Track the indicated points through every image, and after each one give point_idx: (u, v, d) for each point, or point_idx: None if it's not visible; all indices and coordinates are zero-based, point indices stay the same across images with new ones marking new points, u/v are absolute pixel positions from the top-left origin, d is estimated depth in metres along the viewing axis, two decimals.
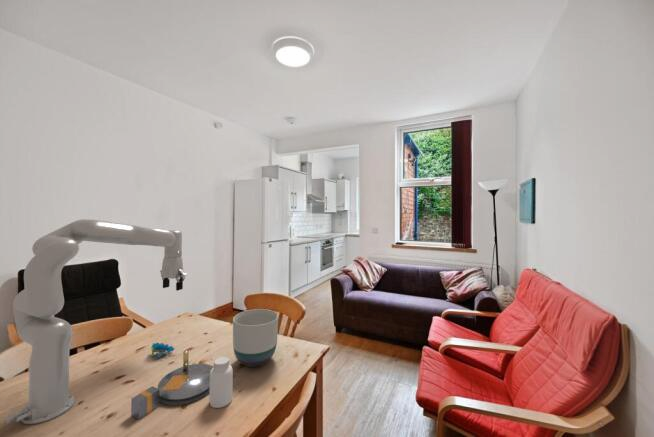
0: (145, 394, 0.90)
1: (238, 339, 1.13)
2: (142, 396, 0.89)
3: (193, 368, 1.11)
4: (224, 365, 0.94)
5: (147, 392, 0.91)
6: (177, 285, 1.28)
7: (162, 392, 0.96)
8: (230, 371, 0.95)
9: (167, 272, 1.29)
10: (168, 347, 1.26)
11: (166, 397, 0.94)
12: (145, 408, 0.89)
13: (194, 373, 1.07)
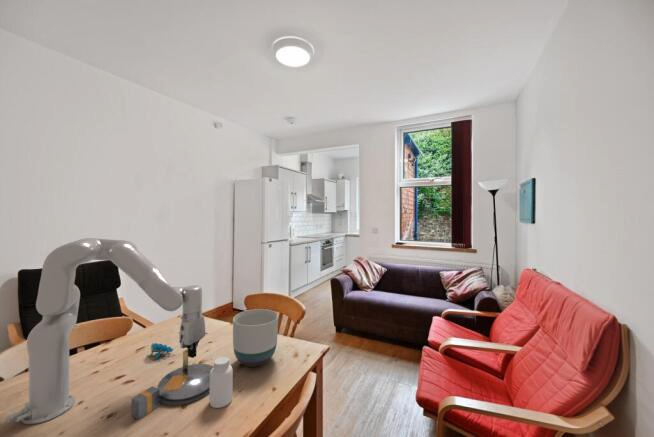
0: (145, 394, 0.90)
1: (238, 339, 1.13)
2: (142, 396, 0.89)
3: (193, 368, 1.11)
4: (224, 365, 0.94)
5: (147, 392, 0.91)
6: None
7: (162, 392, 0.96)
8: (230, 371, 0.95)
9: (196, 335, 1.12)
10: (167, 348, 1.25)
11: (166, 397, 0.94)
12: (145, 408, 0.89)
13: (194, 373, 1.07)
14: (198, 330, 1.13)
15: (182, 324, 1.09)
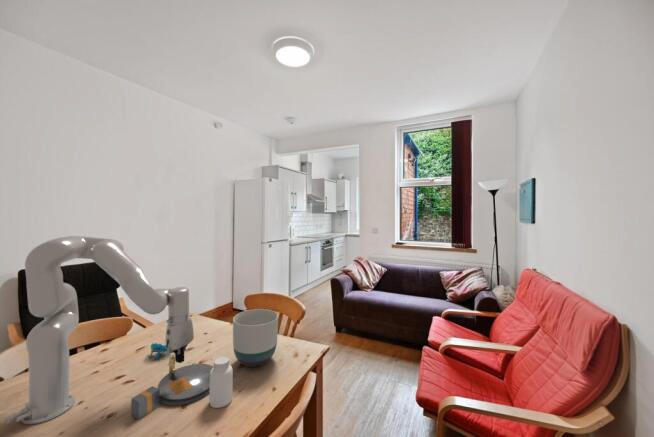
0: (145, 394, 0.90)
1: (238, 339, 1.13)
2: (142, 396, 0.89)
3: (180, 372, 1.08)
4: (224, 365, 0.94)
5: (147, 392, 0.91)
6: None
7: (180, 395, 0.94)
8: (230, 371, 0.95)
9: (184, 339, 1.07)
10: (166, 348, 1.25)
11: (189, 396, 0.95)
12: (145, 408, 0.89)
13: (187, 374, 1.07)
14: (186, 334, 1.08)
15: (168, 328, 1.04)
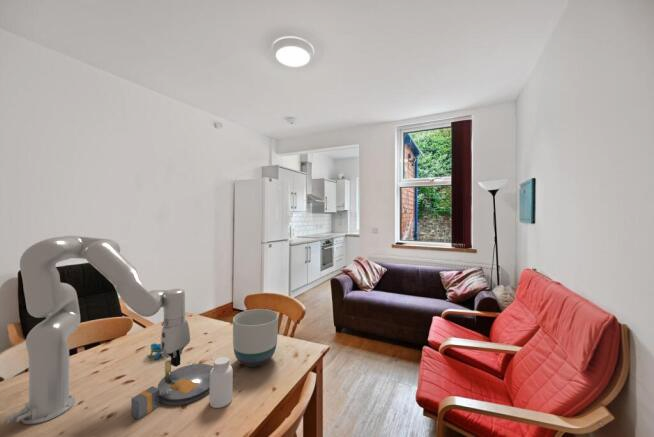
0: (145, 394, 0.90)
1: (238, 339, 1.13)
2: (142, 396, 0.89)
3: (174, 375, 1.06)
4: (224, 365, 0.94)
5: (147, 392, 0.91)
6: None
7: (190, 393, 0.96)
8: (230, 371, 0.95)
9: (179, 342, 1.04)
10: None
11: (199, 392, 0.97)
12: (145, 408, 0.89)
13: (184, 375, 1.06)
14: (181, 337, 1.05)
15: (163, 331, 1.01)
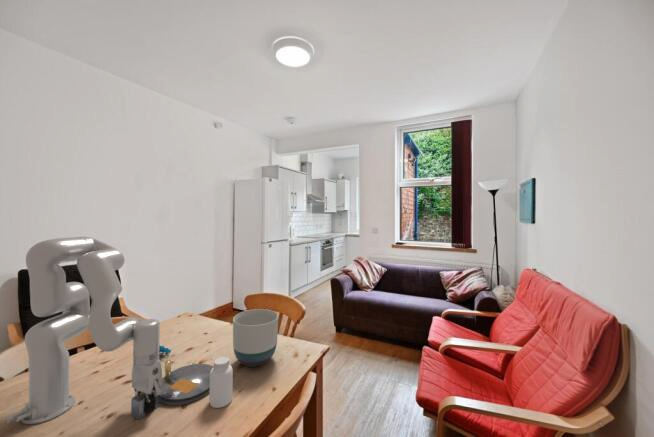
0: (145, 394, 0.90)
1: (238, 339, 1.13)
2: (142, 396, 0.89)
3: (174, 375, 1.06)
4: (224, 365, 0.94)
5: None
6: None
7: (190, 393, 0.96)
8: (230, 371, 0.95)
9: None
10: (164, 349, 1.25)
11: (199, 392, 0.97)
12: None
13: (184, 375, 1.06)
14: None
15: (154, 367, 0.89)
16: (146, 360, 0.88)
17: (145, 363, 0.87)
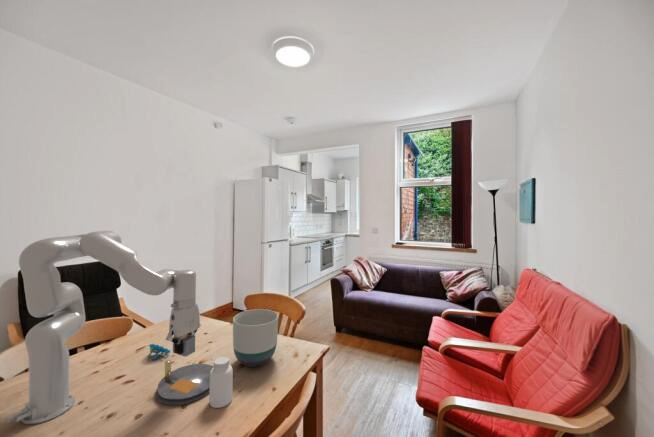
0: (182, 336, 0.99)
1: (238, 339, 1.13)
2: None
3: (174, 375, 1.06)
4: (224, 365, 0.94)
5: (186, 336, 1.00)
6: None
7: (190, 393, 0.96)
8: (230, 371, 0.95)
9: (189, 326, 0.98)
10: (164, 349, 1.24)
11: (199, 392, 0.97)
12: None
13: (184, 375, 1.06)
14: (191, 320, 0.99)
15: (172, 313, 0.95)
16: (173, 303, 0.97)
17: None
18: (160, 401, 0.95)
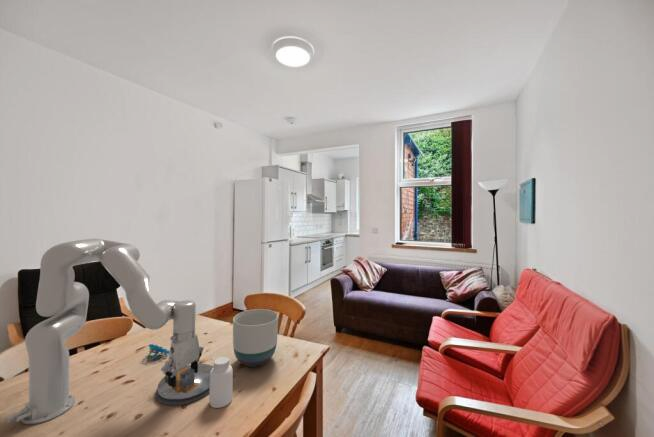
0: (182, 370, 0.99)
1: (238, 339, 1.13)
2: (180, 369, 1.00)
3: None
4: (224, 365, 0.94)
5: (185, 369, 1.00)
6: None
7: (190, 393, 0.96)
8: (230, 371, 0.95)
9: (188, 357, 0.98)
10: (163, 349, 1.24)
11: (199, 392, 0.97)
12: (176, 381, 0.98)
13: None
14: (191, 352, 0.99)
15: (172, 345, 0.95)
16: (173, 335, 0.97)
17: None
18: (160, 401, 0.95)
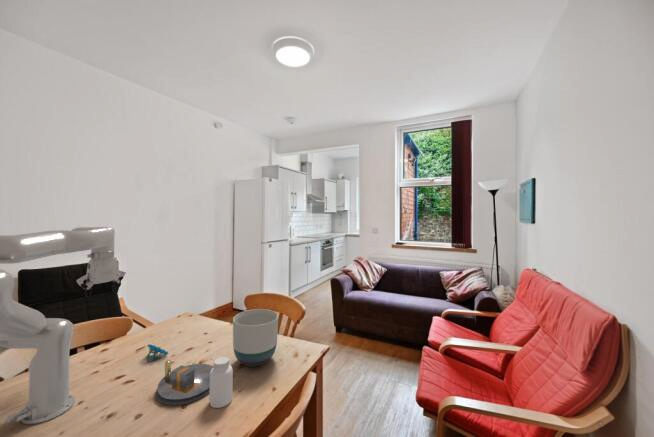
0: (182, 370, 0.99)
1: (238, 339, 1.13)
2: (180, 369, 1.00)
3: None
4: (224, 365, 0.94)
5: (185, 369, 1.00)
6: (117, 286, 1.16)
7: (190, 393, 0.96)
8: (230, 371, 0.95)
9: (106, 275, 1.11)
10: (161, 350, 1.23)
11: (199, 392, 0.97)
12: (176, 381, 0.98)
13: None
14: (108, 271, 1.12)
15: (89, 262, 1.08)
16: None
17: None
18: (160, 401, 0.95)
